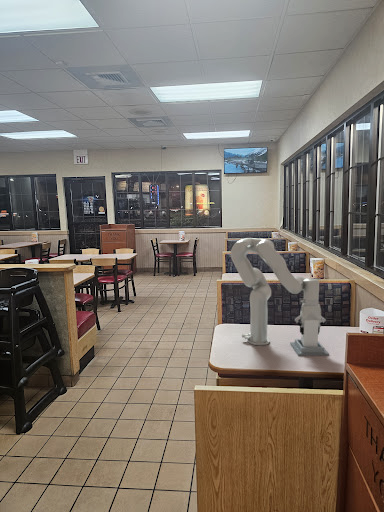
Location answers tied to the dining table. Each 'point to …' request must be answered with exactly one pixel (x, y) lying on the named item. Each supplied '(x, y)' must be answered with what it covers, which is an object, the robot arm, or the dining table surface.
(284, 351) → the dining table surface
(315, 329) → the milk carton
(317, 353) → the carton tray
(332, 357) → the dining table surface
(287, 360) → the dining table surface
